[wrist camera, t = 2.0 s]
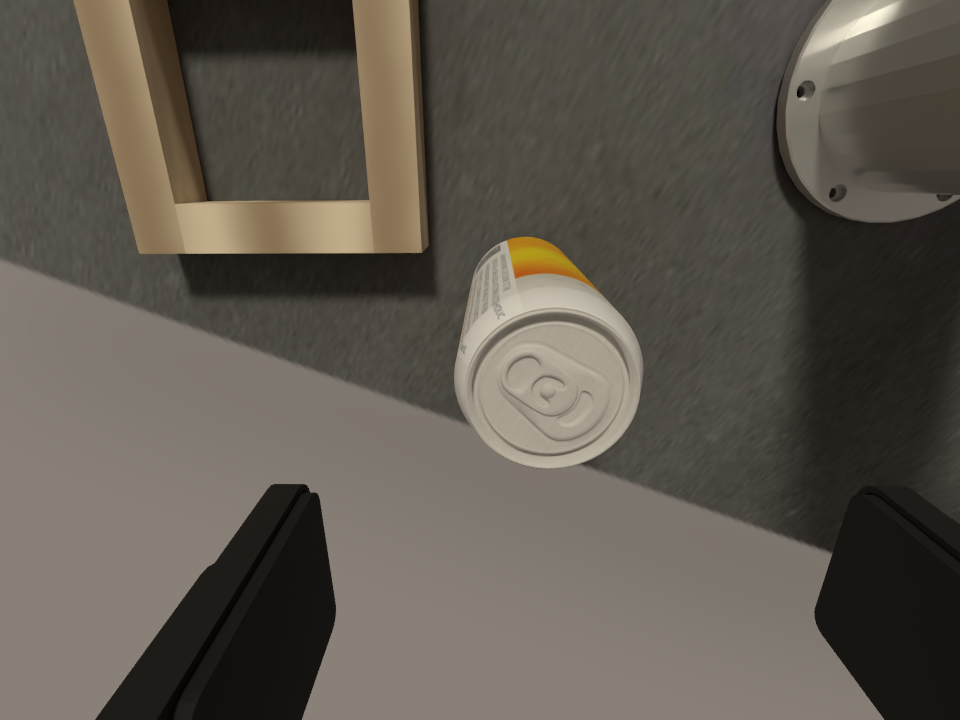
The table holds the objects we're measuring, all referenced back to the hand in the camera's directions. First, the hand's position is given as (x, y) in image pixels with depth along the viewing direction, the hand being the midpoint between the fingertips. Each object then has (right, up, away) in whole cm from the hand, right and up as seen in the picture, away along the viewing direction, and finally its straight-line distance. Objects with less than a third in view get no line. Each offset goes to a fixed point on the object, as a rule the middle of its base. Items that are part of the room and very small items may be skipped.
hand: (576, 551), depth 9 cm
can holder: (-12, +17, +17) cm, 27 cm away
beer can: (+1, +8, +20) cm, 22 cm away
